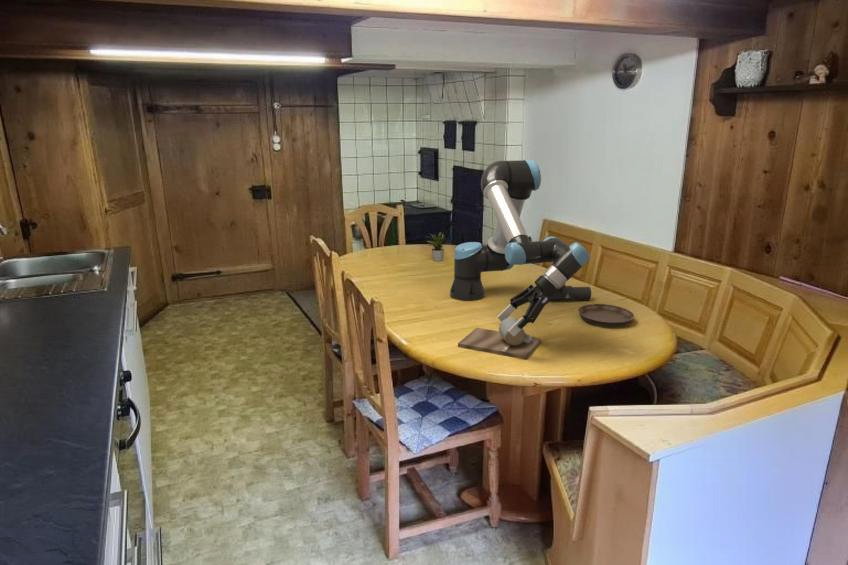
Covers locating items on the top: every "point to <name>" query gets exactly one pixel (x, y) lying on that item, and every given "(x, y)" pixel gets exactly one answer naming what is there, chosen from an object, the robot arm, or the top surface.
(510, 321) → the ceramic mug
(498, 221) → the robot arm
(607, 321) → the plant saucer
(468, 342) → the board
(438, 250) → the house plant
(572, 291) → the laser sight
